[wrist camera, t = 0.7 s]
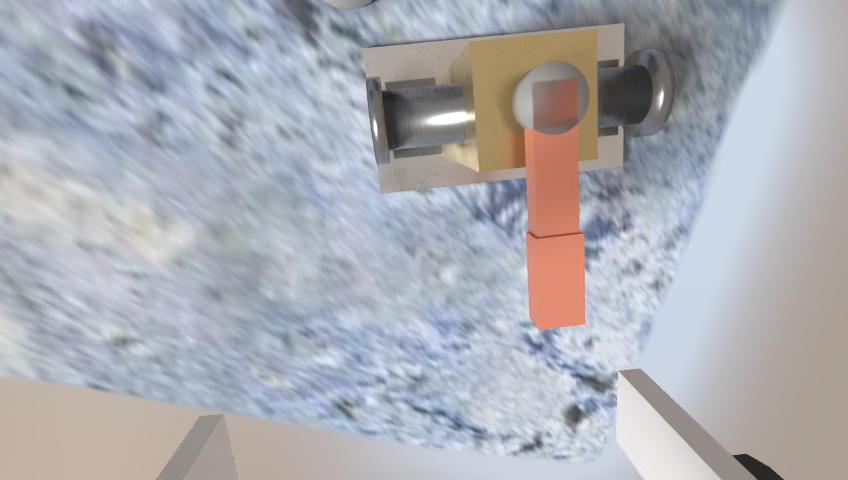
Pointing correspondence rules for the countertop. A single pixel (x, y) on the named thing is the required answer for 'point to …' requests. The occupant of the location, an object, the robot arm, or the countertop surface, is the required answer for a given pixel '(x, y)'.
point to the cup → (347, 3)
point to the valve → (503, 103)
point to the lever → (553, 191)
